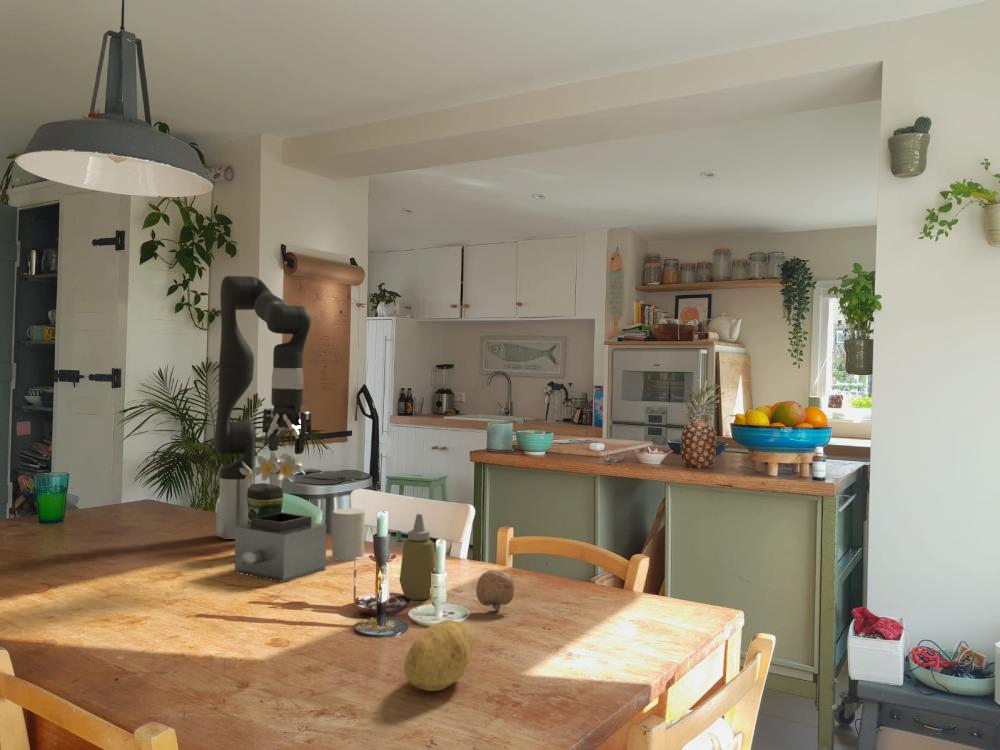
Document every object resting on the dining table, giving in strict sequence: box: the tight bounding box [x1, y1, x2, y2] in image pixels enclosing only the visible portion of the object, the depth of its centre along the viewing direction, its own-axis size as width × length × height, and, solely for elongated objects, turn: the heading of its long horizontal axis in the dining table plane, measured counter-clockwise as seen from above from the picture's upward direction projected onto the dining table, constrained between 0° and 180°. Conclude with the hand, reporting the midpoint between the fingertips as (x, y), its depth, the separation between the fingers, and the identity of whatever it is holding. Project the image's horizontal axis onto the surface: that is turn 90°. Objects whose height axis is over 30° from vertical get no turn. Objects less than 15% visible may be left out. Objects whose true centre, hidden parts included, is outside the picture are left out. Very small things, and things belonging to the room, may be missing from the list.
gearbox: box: [234, 511, 327, 583], centre depth 188 cm, size 16×18×13 cm
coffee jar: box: [247, 482, 284, 524], centre depth 207 cm, size 10×8×19 cm
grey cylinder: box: [331, 507, 366, 561], centre depth 205 cm, size 8×8×12 cm
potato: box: [403, 619, 473, 692], centre depth 124 cm, size 10×14×10 cm
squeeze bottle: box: [399, 513, 436, 601], centre depth 171 cm, size 8×8×18 cm
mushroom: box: [475, 569, 515, 612], centre depth 162 cm, size 8×6×8 cm
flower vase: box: [239, 451, 306, 512], centre depth 223 cm, size 13×18×25 cm
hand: (286, 452), depth 193 cm, fingers open, 8 cm apart
